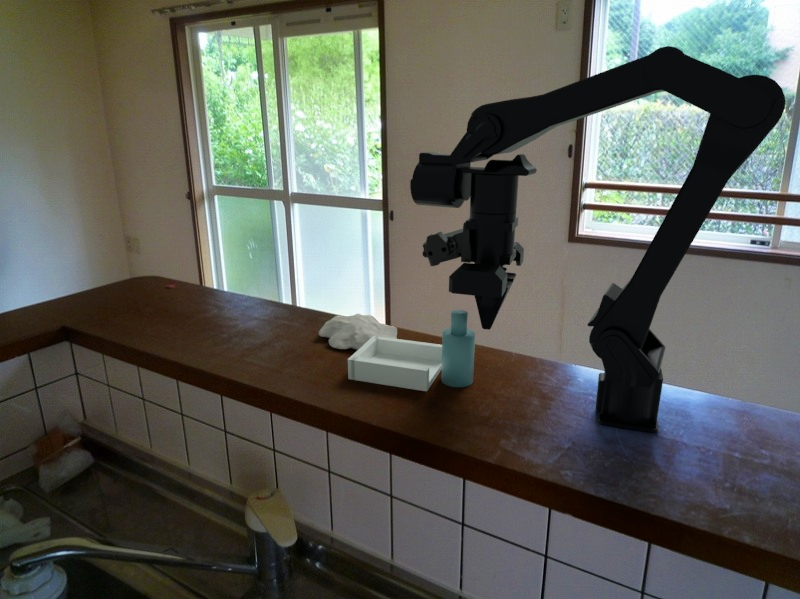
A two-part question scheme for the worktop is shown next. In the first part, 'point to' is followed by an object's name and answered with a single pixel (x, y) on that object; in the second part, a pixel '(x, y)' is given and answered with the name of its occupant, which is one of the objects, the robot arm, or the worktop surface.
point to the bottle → (458, 351)
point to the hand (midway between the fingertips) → (486, 328)
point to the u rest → (396, 363)
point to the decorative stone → (354, 331)
